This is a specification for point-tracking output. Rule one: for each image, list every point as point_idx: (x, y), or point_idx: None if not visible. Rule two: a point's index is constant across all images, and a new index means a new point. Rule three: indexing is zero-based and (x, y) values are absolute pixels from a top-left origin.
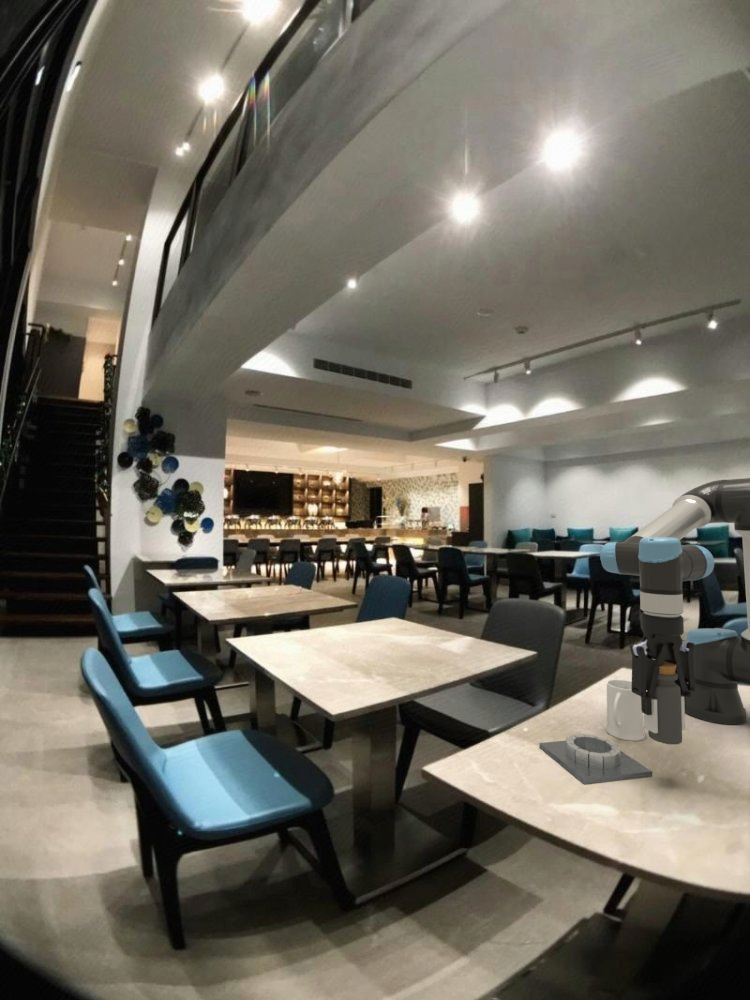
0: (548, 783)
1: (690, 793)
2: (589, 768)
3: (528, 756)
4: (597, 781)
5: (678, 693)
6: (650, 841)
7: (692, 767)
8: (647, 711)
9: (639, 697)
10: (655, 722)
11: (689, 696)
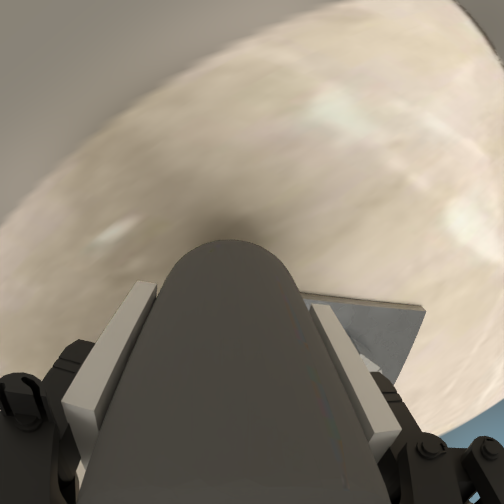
0: (464, 325)
1: (215, 184)
2: (376, 344)
3: (408, 409)
4: (394, 304)
5: (196, 442)
6: (469, 111)
7: (88, 276)
8: (388, 386)
9: (80, 479)
10: (338, 333)
11: (23, 377)
